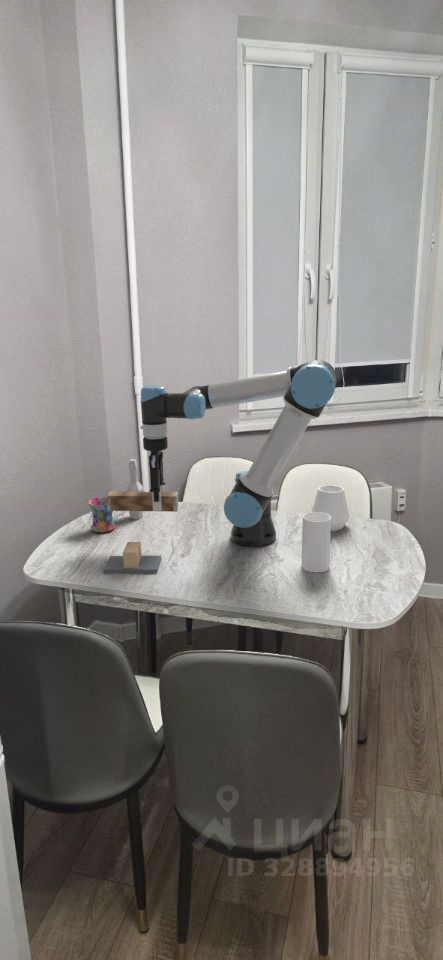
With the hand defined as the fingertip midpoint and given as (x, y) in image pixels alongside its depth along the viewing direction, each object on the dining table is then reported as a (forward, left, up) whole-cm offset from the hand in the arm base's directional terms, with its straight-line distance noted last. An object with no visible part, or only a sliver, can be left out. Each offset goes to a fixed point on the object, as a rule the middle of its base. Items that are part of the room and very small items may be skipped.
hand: (158, 507), depth 196 cm
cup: (-48, +16, -14) cm, 53 cm away
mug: (+22, -17, -14) cm, 31 cm away
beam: (+5, 0, 0) cm, 5 cm away
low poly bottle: (+13, -28, -14) cm, 34 cm away
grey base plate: (+7, +15, -14) cm, 21 cm away
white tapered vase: (-57, -18, -14) cm, 62 cm away
